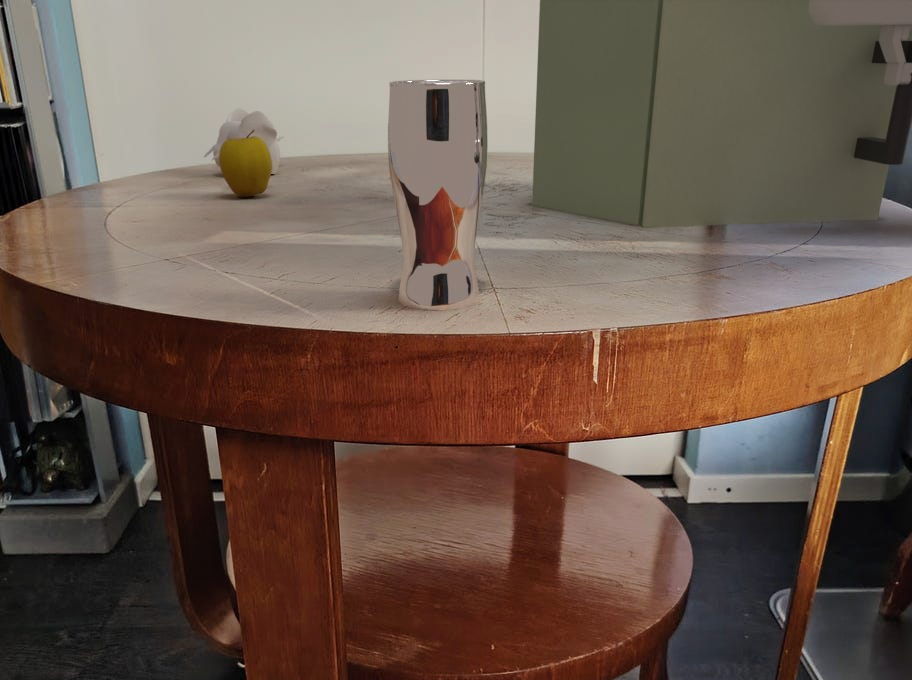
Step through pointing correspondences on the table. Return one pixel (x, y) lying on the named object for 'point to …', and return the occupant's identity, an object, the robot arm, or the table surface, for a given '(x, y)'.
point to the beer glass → (438, 187)
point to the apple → (246, 165)
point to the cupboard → (595, 106)
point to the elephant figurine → (242, 126)
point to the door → (770, 117)
